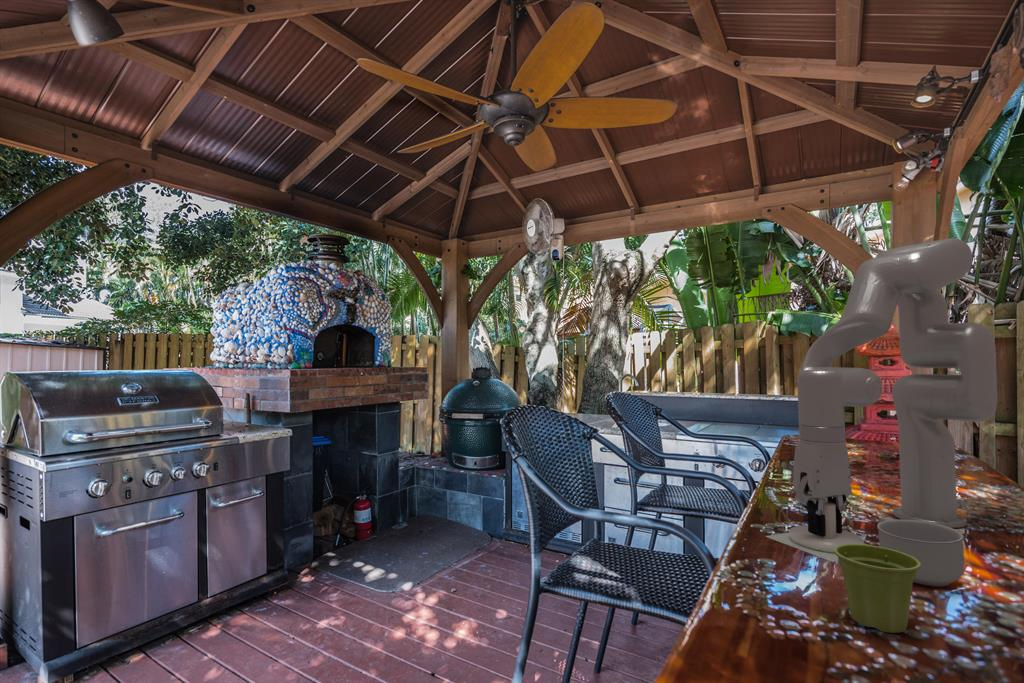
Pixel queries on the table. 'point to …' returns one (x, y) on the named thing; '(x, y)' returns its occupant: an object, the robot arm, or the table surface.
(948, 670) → the table surface
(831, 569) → the table surface
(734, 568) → the table surface
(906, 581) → the plant pot
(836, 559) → the mat
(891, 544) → the teacup
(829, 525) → the lid
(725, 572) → the table surface
